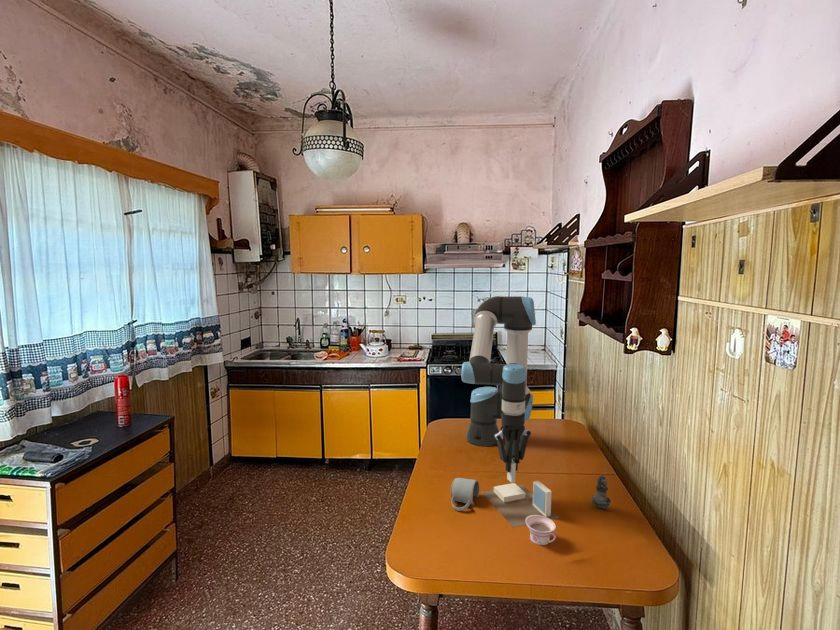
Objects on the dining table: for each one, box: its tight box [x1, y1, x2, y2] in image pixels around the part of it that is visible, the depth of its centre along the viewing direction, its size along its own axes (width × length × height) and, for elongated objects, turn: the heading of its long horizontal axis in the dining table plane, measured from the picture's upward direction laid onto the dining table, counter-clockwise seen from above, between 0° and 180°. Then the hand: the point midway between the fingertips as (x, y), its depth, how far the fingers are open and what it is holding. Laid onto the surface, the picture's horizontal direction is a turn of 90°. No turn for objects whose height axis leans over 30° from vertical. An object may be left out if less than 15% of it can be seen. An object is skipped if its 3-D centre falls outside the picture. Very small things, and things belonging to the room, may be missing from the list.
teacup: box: [525, 515, 557, 546], centre depth 121 cm, size 12×12×6 cm
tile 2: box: [532, 480, 552, 517], centre depth 135 cm, size 7×2×8 cm, turn 19°
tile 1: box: [493, 482, 526, 502], centre depth 144 cm, size 7×2×8 cm
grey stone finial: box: [591, 473, 612, 512], centre depth 137 cm, size 6×6×12 cm
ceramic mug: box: [449, 477, 480, 512], centre depth 141 cm, size 11×8×8 cm
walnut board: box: [480, 484, 560, 529], centre depth 139 cm, size 21×16×1 cm
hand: (511, 480), depth 143 cm, fingers closed
